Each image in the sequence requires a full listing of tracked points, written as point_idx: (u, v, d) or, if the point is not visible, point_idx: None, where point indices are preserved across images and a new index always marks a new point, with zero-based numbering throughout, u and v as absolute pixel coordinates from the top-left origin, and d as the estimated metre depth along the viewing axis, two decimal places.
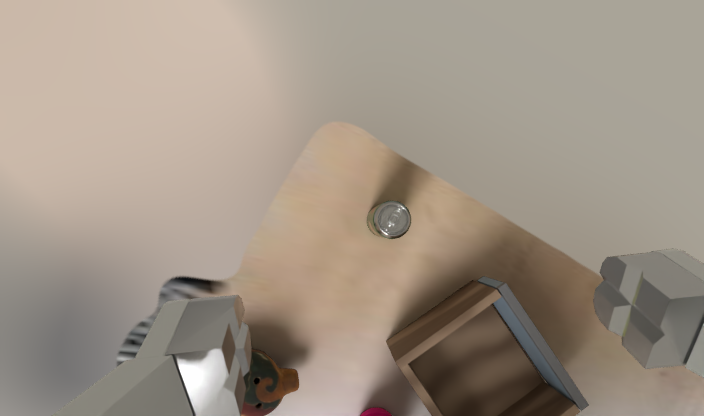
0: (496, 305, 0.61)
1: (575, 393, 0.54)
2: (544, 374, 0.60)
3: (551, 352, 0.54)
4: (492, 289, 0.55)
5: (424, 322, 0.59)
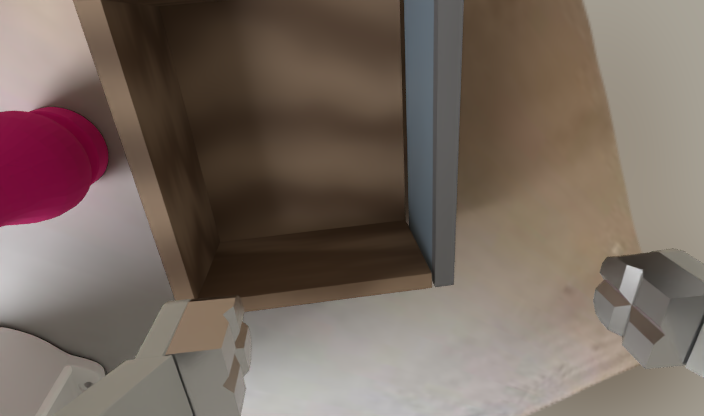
0: (408, 38, 0.27)
1: (445, 257, 0.26)
2: (413, 208, 0.32)
3: (454, 165, 0.24)
4: None
5: None
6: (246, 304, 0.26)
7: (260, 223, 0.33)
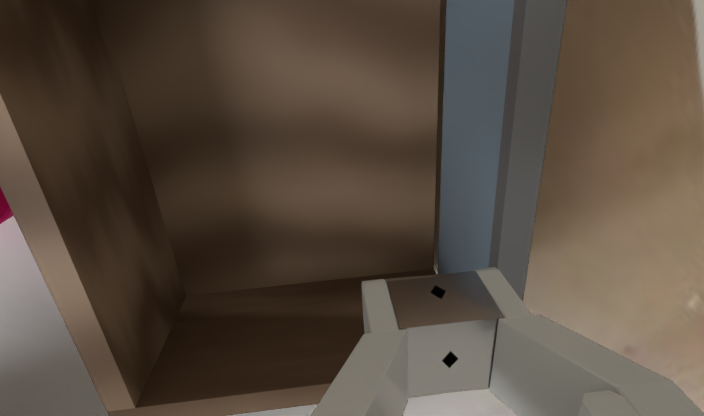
0: (453, 24, 0.19)
1: None
2: (447, 257, 0.23)
3: (530, 216, 0.15)
4: None
5: None
6: (211, 408, 0.18)
7: (240, 272, 0.24)
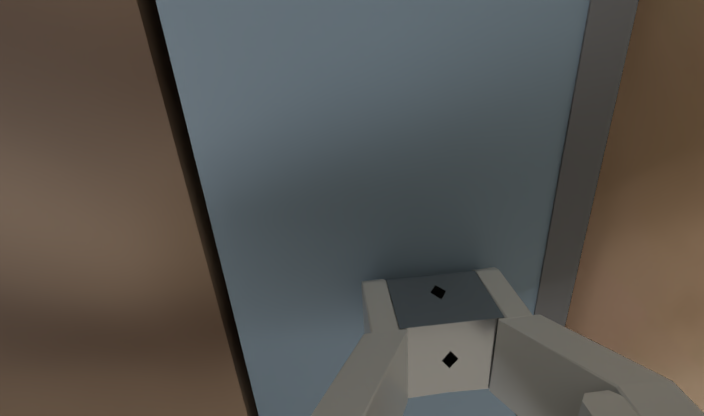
0: (236, 41, 0.07)
1: None
2: None
3: None
4: None
5: None
6: None
7: None
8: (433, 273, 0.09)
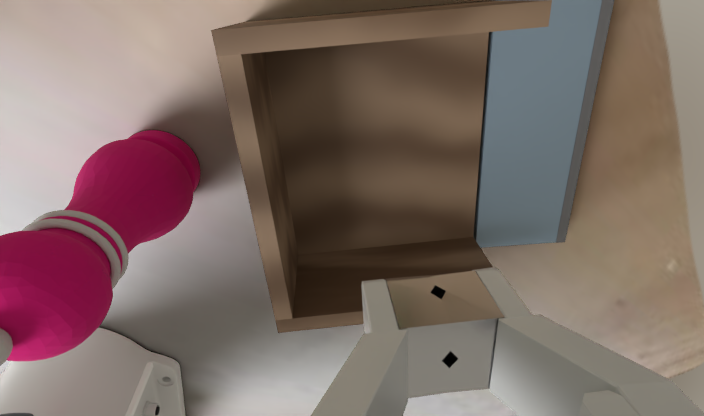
0: (506, 67, 0.29)
1: None
2: (497, 216, 0.35)
3: None
4: (537, 0, 0.21)
5: None
6: (338, 320, 0.28)
7: (337, 238, 0.35)
8: (545, 132, 0.31)
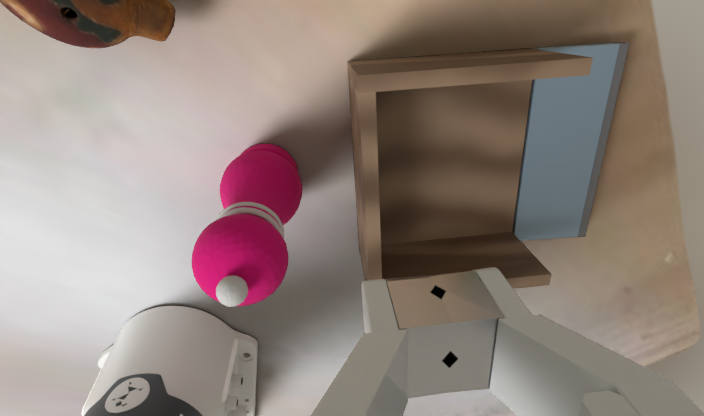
0: (545, 98, 0.37)
1: None
2: (532, 215, 0.43)
3: None
4: (581, 56, 0.29)
5: (428, 60, 0.33)
6: None
7: (403, 232, 0.43)
8: (572, 148, 0.40)
